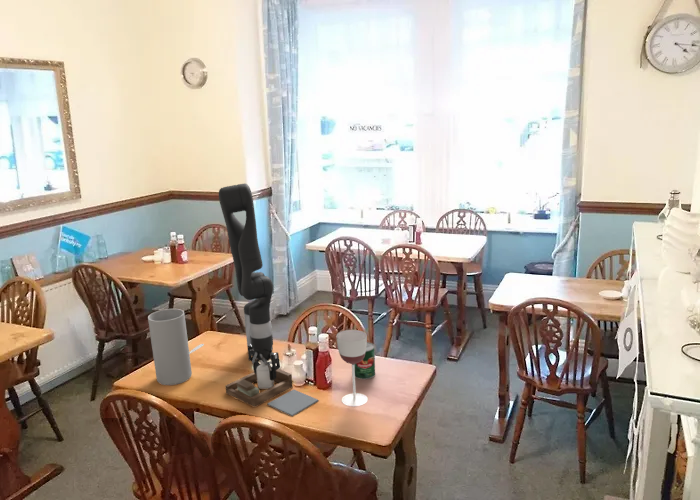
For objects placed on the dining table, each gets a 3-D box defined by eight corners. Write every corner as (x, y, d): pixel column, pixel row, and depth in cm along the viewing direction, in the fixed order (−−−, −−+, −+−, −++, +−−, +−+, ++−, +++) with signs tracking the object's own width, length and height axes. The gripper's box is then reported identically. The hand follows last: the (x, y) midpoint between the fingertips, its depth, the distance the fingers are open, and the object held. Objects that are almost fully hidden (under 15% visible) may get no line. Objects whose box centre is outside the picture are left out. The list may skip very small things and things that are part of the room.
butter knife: (206, 344, 240) (200, 343, 241) (164, 373, 216) (157, 371, 217) (206, 345, 240) (201, 344, 241) (164, 374, 216) (158, 373, 217)
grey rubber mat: (293, 390, 198) (293, 389, 198) (318, 401, 190) (318, 399, 190) (267, 404, 189) (267, 403, 189) (292, 416, 182) (292, 415, 181)
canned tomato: (361, 381, 202) (360, 352, 200) (349, 373, 209) (348, 345, 206) (379, 375, 206) (378, 347, 204) (367, 367, 213) (366, 340, 210)
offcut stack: (245, 390, 200) (243, 377, 199) (260, 398, 194) (259, 385, 193) (235, 394, 198) (234, 382, 196) (250, 403, 191) (249, 390, 190)
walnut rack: (263, 375, 210) (262, 362, 209) (292, 387, 200) (291, 374, 199) (225, 393, 198) (224, 380, 197) (254, 407, 188) (253, 393, 187)
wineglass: (360, 409, 184) (357, 343, 178) (334, 402, 189) (330, 337, 183) (374, 396, 191) (372, 333, 186) (349, 390, 196) (346, 327, 191)
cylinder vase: (150, 379, 211) (141, 316, 205) (180, 367, 220) (172, 306, 214) (168, 389, 203) (159, 324, 197) (198, 376, 212) (190, 313, 205)
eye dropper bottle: (268, 391, 198) (265, 359, 195) (255, 387, 201) (253, 356, 198) (276, 386, 202) (273, 354, 199) (264, 382, 205) (261, 351, 202)
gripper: (283, 334, 195) (286, 377, 199) (256, 325, 204) (260, 367, 208) (266, 341, 189) (270, 386, 193) (239, 332, 198) (243, 374, 202)
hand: (265, 376), depth 200 cm, fingers open, 8 cm apart
